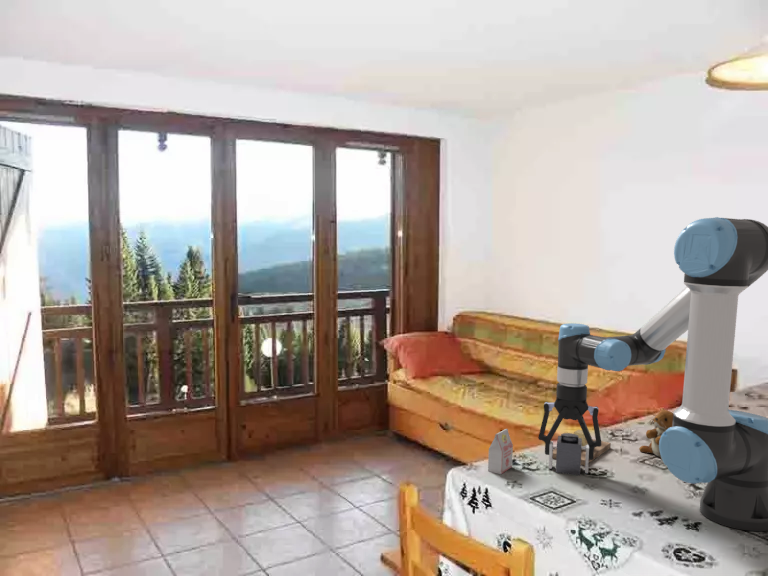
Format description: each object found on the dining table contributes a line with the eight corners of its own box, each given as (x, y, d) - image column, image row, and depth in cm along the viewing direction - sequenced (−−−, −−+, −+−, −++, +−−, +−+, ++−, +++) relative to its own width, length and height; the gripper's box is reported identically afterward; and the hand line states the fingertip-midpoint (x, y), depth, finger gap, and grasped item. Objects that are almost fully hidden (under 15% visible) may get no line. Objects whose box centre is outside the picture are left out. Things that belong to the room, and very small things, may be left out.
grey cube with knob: (580, 475, 166) (581, 440, 166) (555, 472, 168) (557, 437, 167) (580, 467, 172) (582, 433, 171) (557, 465, 174) (558, 431, 173)
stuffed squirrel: (636, 451, 187) (638, 406, 186) (677, 448, 191) (680, 403, 190) (659, 463, 177) (662, 415, 176) (702, 459, 181) (705, 412, 180)
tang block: (584, 465, 174) (585, 443, 173) (549, 457, 180) (549, 436, 179) (610, 447, 189) (611, 427, 189) (577, 440, 195) (578, 421, 195)
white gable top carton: (487, 471, 168) (489, 433, 168) (499, 464, 174) (500, 427, 173) (501, 474, 166) (502, 435, 165) (512, 467, 172) (513, 429, 171)
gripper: (615, 384, 169) (611, 469, 170) (531, 377, 175) (528, 459, 177) (615, 390, 162) (611, 479, 163) (528, 382, 168) (525, 468, 170)
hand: (568, 469), depth 170 cm, fingers open, 8 cm apart
